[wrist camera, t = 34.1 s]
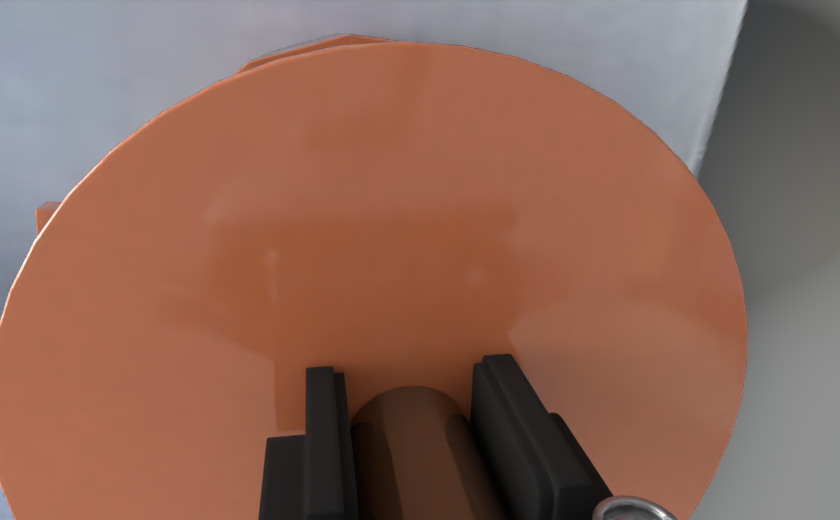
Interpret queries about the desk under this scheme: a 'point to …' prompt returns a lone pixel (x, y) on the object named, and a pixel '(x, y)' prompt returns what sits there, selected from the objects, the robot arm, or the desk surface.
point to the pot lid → (369, 292)
